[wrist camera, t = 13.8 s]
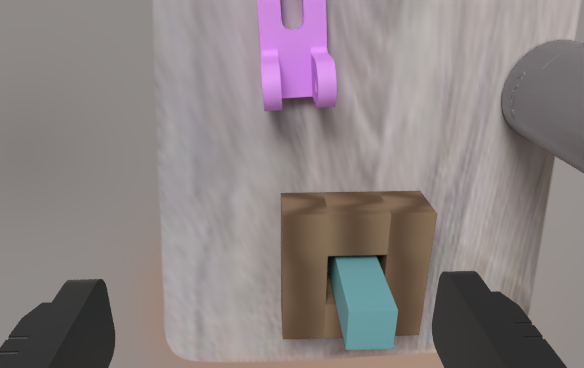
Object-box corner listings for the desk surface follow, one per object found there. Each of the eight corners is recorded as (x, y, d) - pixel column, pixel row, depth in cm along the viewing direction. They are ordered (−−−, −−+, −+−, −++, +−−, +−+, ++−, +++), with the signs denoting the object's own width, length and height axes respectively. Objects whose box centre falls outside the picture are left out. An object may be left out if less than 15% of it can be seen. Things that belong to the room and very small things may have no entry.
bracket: (326, 91, 42) (337, 111, 35) (265, 95, 41) (264, 116, 35) (322, -71, 36) (334, -82, 30) (252, -67, 36) (249, -78, 30)
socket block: (420, 191, 46) (437, 214, 41) (405, 303, 52) (418, 334, 47) (280, 193, 45) (282, 216, 41) (281, 307, 51) (282, 339, 46)
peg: (368, 235, 48) (398, 310, 37) (365, 267, 49) (393, 348, 38) (329, 235, 48) (348, 311, 37) (328, 267, 49) (345, 350, 38)
